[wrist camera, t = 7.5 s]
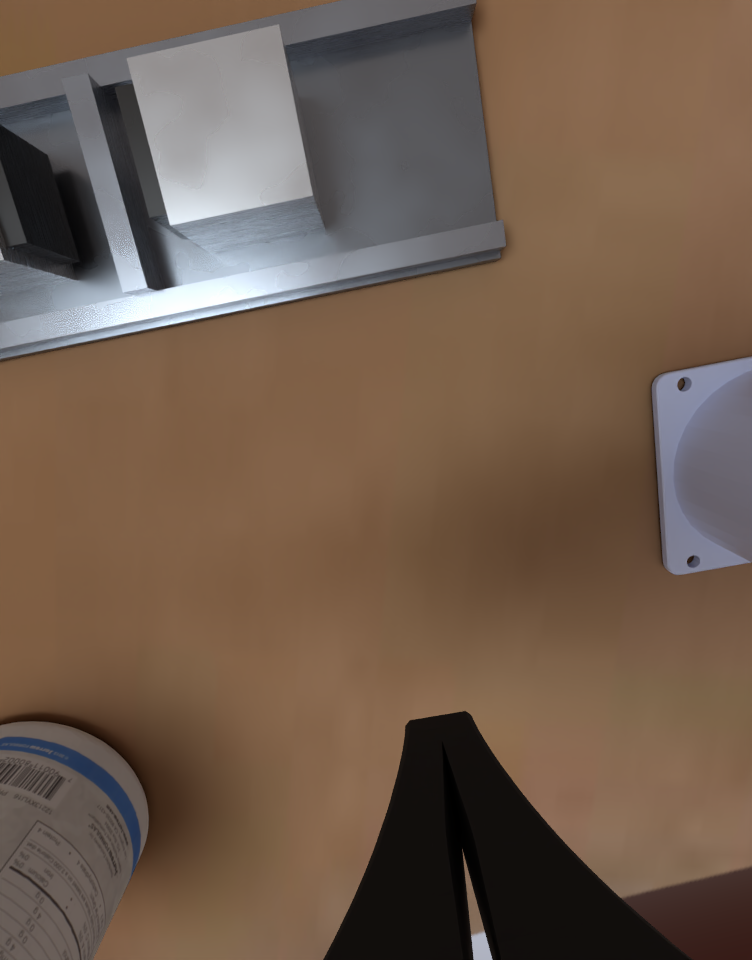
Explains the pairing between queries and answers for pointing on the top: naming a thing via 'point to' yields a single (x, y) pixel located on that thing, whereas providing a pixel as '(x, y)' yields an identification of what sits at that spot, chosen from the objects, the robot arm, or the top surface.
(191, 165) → the free white block
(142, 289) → the rail
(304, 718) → the top surface
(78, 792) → the supplement tub
